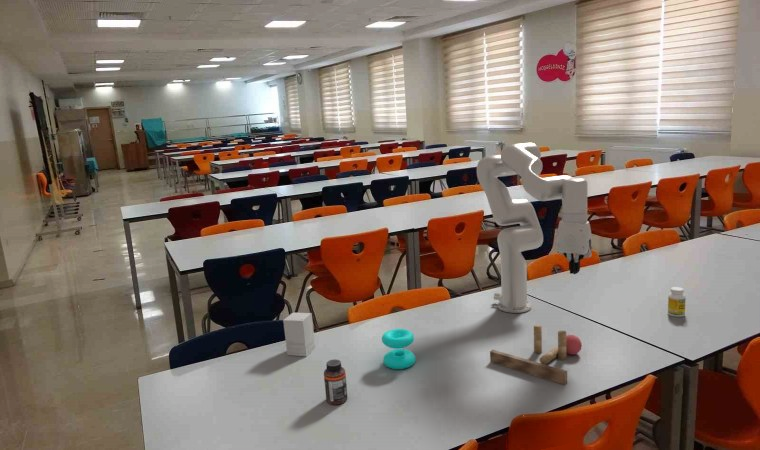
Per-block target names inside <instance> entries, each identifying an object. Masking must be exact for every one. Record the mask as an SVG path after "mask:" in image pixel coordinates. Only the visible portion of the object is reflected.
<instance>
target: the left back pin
mask: <svg viewBox="0 0 760 450" xmlns="http://www.w3.org/2000/svg"><path fill="white" fill-rule="evenodd" d="M542 327H543V326H542V325H540V324H534V325H533V352H534V353H536V354H541V353H543V344H542V343H543V331H542V330H543V328H542Z"/></svg>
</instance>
